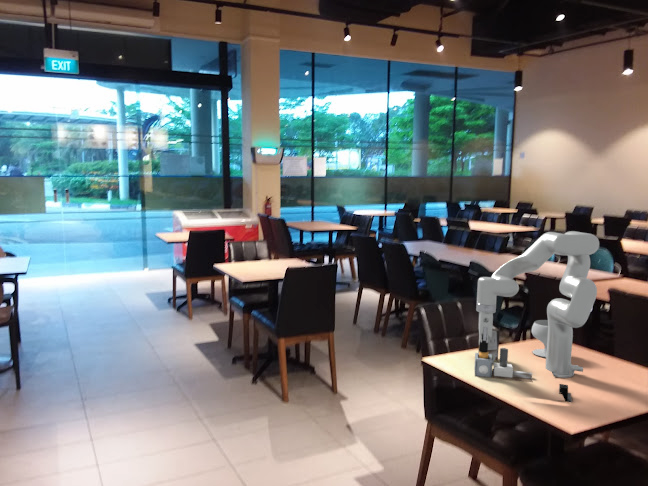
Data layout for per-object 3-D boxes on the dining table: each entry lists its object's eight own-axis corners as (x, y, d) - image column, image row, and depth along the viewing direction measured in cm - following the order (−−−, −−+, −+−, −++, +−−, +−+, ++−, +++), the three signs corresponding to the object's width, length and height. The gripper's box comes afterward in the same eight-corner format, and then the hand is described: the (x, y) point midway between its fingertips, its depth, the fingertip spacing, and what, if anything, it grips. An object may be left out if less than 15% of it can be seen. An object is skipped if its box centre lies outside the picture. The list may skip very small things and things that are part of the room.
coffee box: (498, 366, 225) (500, 330, 223) (483, 366, 225) (485, 330, 223) (491, 359, 234) (493, 324, 232) (477, 359, 234) (479, 324, 232)
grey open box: (490, 370, 216) (491, 354, 215) (491, 377, 208) (492, 360, 207) (474, 368, 218) (475, 352, 217) (474, 375, 210) (475, 359, 209)
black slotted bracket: (573, 405, 187) (574, 393, 187) (552, 402, 190) (552, 390, 190) (572, 393, 199) (573, 381, 198) (552, 390, 202) (552, 378, 201)
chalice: (562, 352, 245) (564, 321, 244) (562, 361, 233) (564, 328, 231) (531, 348, 251) (533, 317, 249) (529, 356, 239) (531, 324, 237)
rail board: (529, 377, 213) (530, 369, 212) (532, 385, 204) (533, 377, 204) (474, 371, 218) (474, 363, 218) (474, 379, 210) (475, 371, 209)
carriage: (511, 372, 213) (512, 347, 212) (512, 378, 207) (514, 352, 206) (493, 370, 215) (494, 346, 213) (494, 376, 209) (495, 350, 208)
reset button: (487, 357, 214) (488, 350, 213) (488, 360, 210) (488, 353, 210) (478, 357, 214) (479, 350, 214) (479, 359, 211) (479, 352, 211)
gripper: (496, 312, 202) (493, 358, 204) (494, 304, 216) (491, 347, 218) (476, 311, 204) (474, 356, 206) (475, 302, 218) (473, 345, 220)
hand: (483, 351), depth 212 cm, fingers closed
